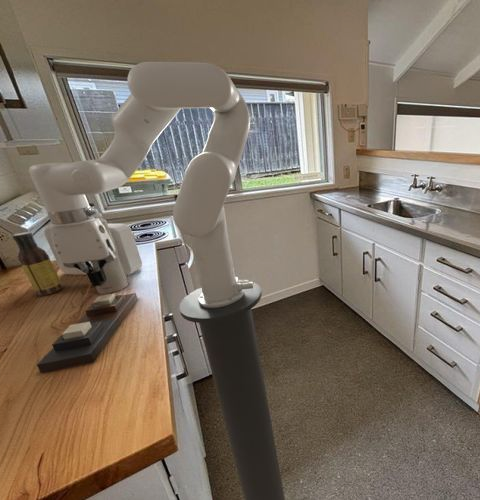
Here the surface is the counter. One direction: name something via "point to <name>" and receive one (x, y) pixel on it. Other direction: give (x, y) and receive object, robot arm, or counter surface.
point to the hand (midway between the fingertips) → (100, 283)
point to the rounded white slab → (122, 244)
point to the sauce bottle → (37, 265)
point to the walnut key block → (110, 310)
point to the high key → (77, 330)
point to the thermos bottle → (111, 267)
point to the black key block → (78, 347)
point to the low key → (104, 300)
